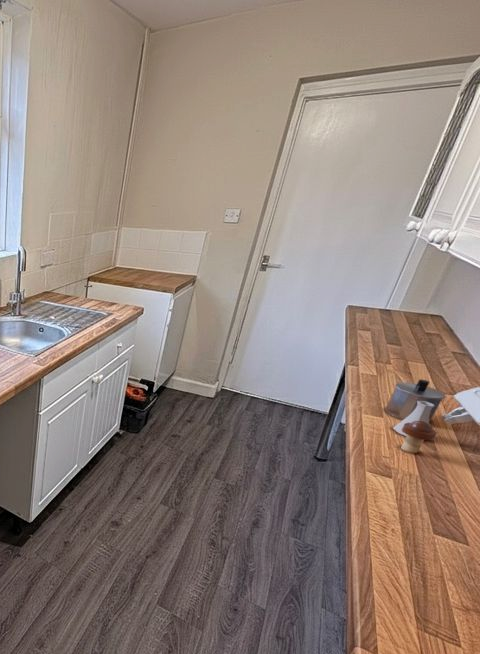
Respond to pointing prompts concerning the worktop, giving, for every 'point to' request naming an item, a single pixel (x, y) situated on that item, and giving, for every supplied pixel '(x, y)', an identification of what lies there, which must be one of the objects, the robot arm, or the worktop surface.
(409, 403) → the pot
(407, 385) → the pot lid
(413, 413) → the flask
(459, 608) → the worktop surface
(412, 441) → the mushroom
